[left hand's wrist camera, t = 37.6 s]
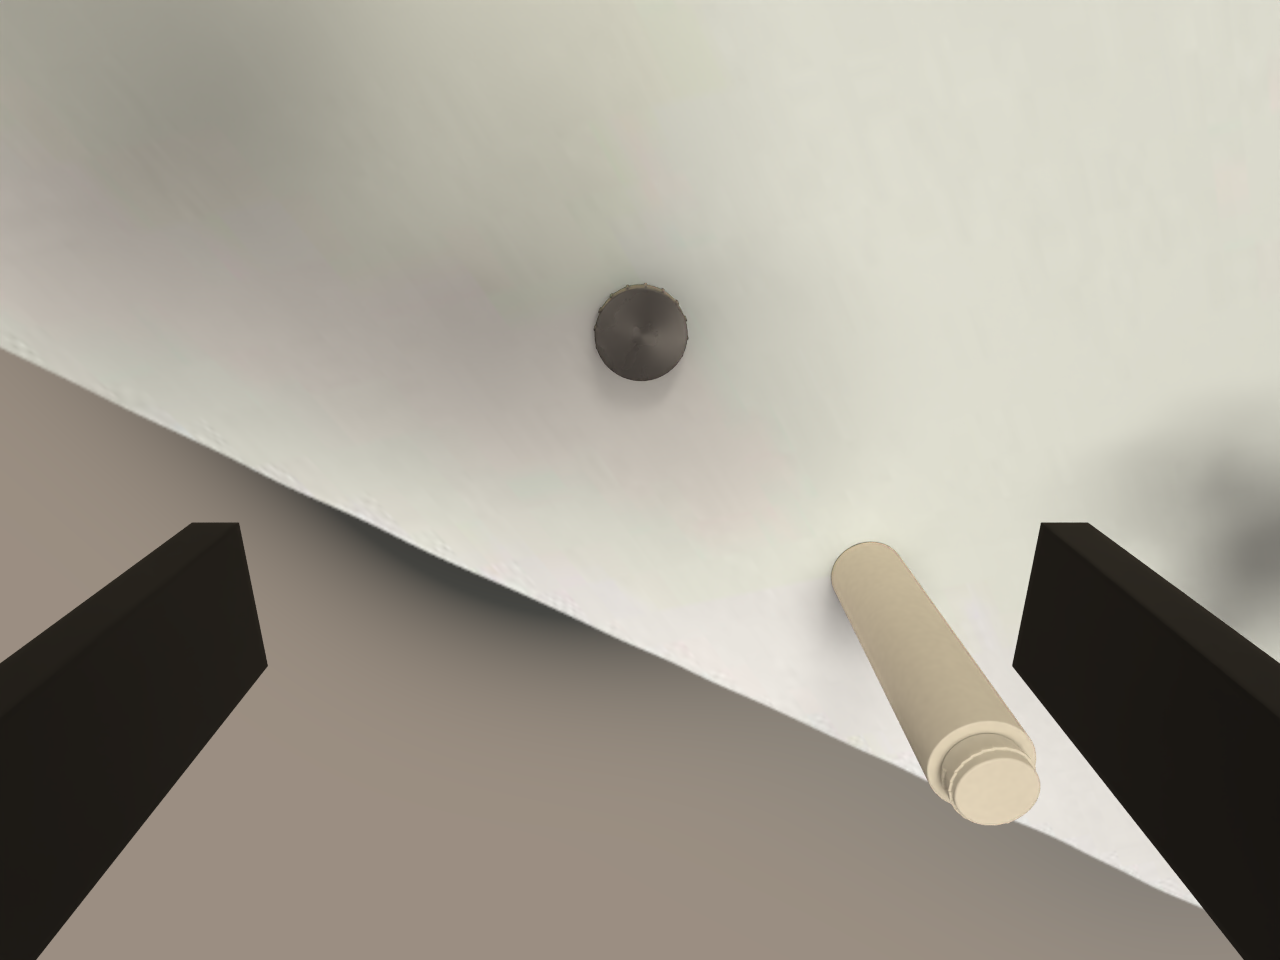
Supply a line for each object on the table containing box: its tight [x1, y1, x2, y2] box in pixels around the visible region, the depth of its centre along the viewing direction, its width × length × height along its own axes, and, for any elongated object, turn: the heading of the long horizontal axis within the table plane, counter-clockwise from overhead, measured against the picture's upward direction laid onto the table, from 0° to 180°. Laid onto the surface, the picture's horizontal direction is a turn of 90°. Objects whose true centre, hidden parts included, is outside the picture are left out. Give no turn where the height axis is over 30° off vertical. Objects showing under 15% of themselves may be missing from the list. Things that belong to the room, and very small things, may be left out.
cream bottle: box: [831, 542, 1040, 825], centre depth 36 cm, size 4×4×17 cm
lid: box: [594, 283, 688, 381], centre depth 38 cm, size 5×5×2 cm
